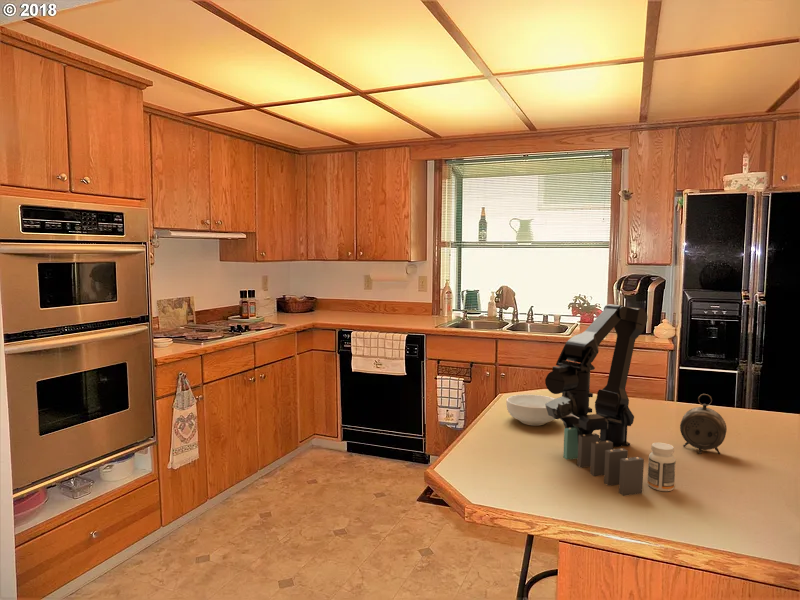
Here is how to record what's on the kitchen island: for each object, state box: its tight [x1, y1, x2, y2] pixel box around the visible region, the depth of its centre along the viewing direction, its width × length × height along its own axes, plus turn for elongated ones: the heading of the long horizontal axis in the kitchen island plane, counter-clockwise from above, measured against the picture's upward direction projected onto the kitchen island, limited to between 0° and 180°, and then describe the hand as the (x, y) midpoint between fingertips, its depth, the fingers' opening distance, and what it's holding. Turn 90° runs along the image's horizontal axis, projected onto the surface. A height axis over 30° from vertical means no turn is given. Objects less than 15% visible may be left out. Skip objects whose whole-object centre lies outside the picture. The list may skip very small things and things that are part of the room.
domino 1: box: [562, 427, 578, 461], centre depth 147 cm, size 5×2×8 cm, turn 105°
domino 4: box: [603, 448, 629, 487], centre depth 131 cm, size 5×2×8 cm, turn 105°
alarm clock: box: [679, 393, 728, 455], centre depth 151 cm, size 11×5×16 cm, turn 56°
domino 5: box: [618, 456, 645, 497], centre depth 126 cm, size 5×2×8 cm, turn 105°
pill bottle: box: [647, 441, 677, 492], centre depth 129 cm, size 6×6×10 cm
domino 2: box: [576, 432, 600, 468], centre depth 141 cm, size 5×2×8 cm, turn 105°
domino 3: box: [589, 441, 614, 477], centre depth 136 cm, size 5×2×8 cm, turn 105°
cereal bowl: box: [505, 393, 556, 427], centre depth 177 cm, size 17×17×7 cm
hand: (575, 445), depth 147 cm, fingers open, 4 cm apart
